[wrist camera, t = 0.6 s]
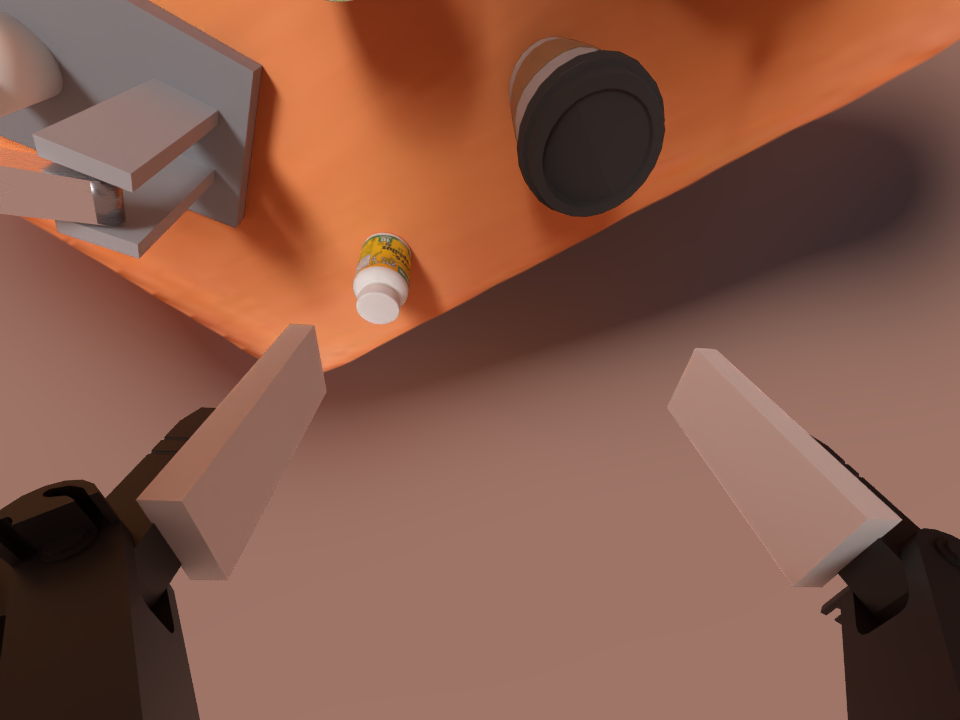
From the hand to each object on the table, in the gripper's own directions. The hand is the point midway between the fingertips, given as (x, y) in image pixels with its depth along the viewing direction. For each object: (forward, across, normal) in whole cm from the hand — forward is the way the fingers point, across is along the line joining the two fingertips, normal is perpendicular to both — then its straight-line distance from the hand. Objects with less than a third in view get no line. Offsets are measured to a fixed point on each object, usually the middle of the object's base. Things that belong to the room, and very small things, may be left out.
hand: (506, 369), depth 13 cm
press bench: (+25, -32, +9) cm, 42 cm away
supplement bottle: (+30, -10, -6) cm, 33 cm away
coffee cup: (+27, +4, +10) cm, 29 cm away
